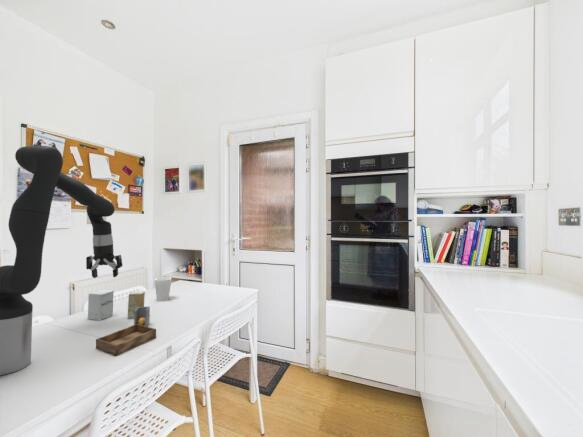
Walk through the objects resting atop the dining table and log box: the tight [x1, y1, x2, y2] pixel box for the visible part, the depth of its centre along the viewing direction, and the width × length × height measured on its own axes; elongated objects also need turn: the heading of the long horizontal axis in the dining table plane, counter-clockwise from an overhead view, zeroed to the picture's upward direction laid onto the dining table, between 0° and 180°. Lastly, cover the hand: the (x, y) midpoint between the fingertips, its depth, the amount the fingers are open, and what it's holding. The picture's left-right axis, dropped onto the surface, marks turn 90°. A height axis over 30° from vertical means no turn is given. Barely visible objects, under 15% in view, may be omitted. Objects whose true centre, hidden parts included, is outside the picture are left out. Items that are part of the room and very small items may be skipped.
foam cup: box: [154, 276, 172, 302], centre depth 154 cm, size 10×9×13 cm
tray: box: [95, 324, 157, 357], centre depth 99 cm, size 16×12×4 cm
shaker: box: [133, 306, 151, 327], centre depth 115 cm, size 5×5×8 cm
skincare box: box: [127, 291, 146, 320], centre depth 126 cm, size 6×4×12 cm
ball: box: [138, 318, 145, 325], centre depth 115 cm, size 3×3×3 cm
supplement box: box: [87, 289, 114, 321], centre depth 125 cm, size 7×7×13 cm
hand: (105, 277), depth 119 cm, fingers open, 8 cm apart
